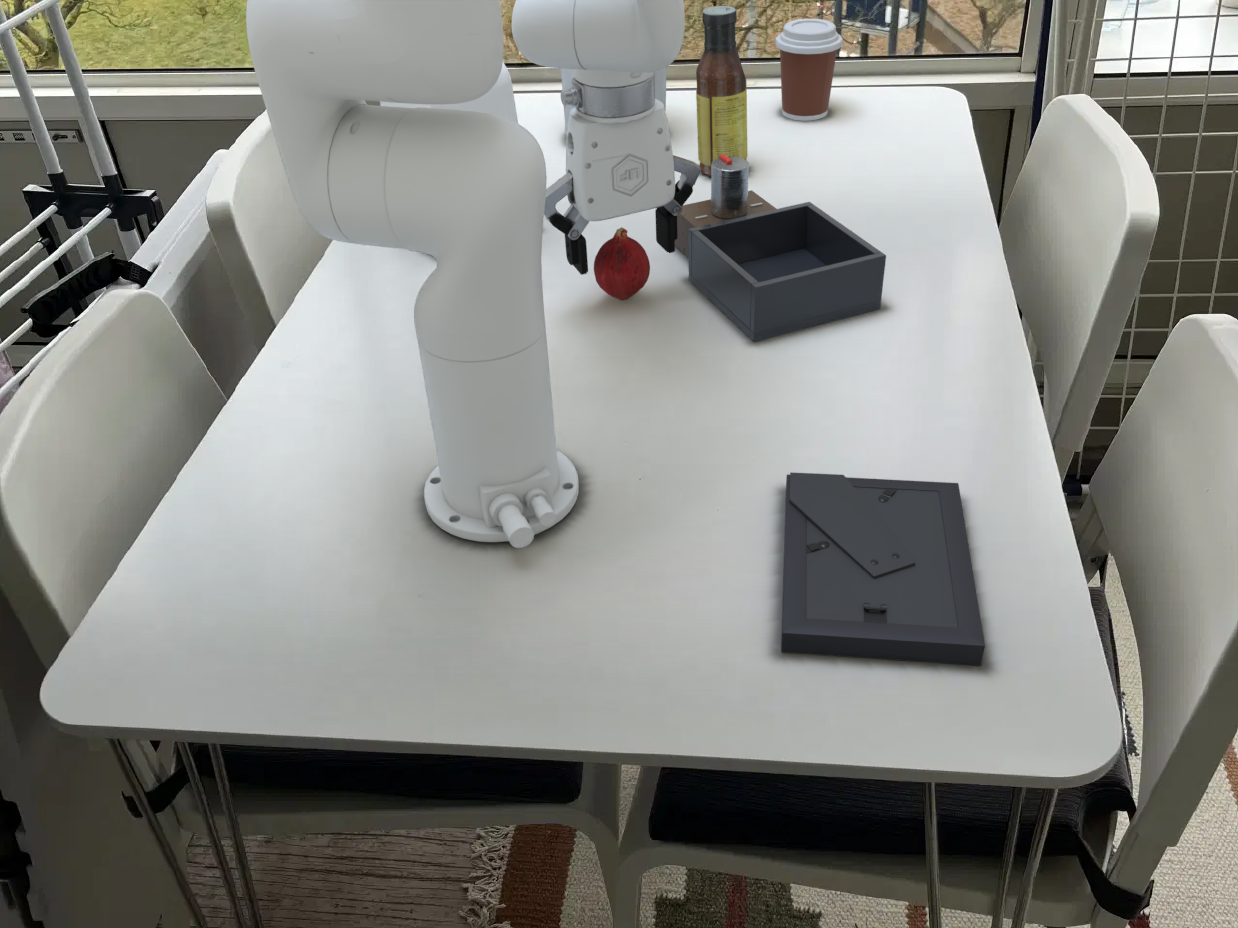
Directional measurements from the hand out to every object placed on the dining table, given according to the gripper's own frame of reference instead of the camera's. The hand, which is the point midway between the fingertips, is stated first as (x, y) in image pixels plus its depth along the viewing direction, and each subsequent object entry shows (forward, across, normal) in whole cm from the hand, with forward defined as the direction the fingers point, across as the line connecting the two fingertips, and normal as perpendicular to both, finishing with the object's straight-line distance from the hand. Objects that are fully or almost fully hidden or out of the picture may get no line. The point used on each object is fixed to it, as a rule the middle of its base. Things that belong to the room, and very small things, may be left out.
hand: (623, 258), depth 117 cm
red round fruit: (+5, 0, 0) cm, 5 cm away
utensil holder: (+6, +18, +44) cm, 47 cm away
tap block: (+5, +15, +5) cm, 16 cm away
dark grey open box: (+5, +15, -7) cm, 17 cm away
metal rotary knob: (0, +15, +5) cm, 16 cm away
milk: (+5, -10, +24) cm, 26 cm away
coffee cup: (+6, +44, +38) cm, 59 cm away
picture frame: (+4, 0, -48) cm, 48 cm away
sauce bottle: (+6, +24, +26) cm, 36 cm away
